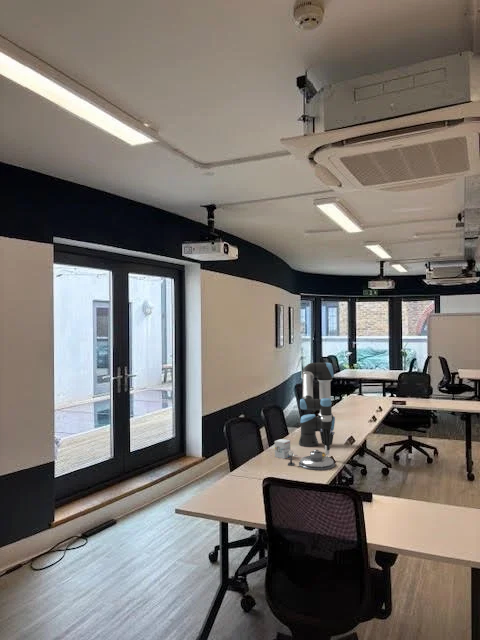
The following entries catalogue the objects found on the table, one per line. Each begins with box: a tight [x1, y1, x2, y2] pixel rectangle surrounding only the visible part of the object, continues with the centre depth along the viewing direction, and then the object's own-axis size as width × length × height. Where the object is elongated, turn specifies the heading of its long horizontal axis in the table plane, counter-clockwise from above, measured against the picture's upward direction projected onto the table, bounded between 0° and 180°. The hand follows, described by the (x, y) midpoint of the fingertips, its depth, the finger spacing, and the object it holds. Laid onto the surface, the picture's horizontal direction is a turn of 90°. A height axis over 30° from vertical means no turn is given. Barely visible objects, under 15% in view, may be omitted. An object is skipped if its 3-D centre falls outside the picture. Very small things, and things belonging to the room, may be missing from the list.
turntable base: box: [298, 461, 336, 471], centre depth 319 cm, size 24×24×1 cm
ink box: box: [274, 438, 291, 460], centre depth 341 cm, size 8×8×12 cm
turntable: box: [299, 451, 334, 468], centre depth 321 cm, size 22×26×3 cm
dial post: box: [287, 449, 298, 467], centre depth 320 cm, size 4×6×10 cm, turn 75°
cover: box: [309, 449, 323, 462], centre depth 319 cm, size 8×8×6 cm
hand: (327, 454), depth 330 cm, fingers closed
